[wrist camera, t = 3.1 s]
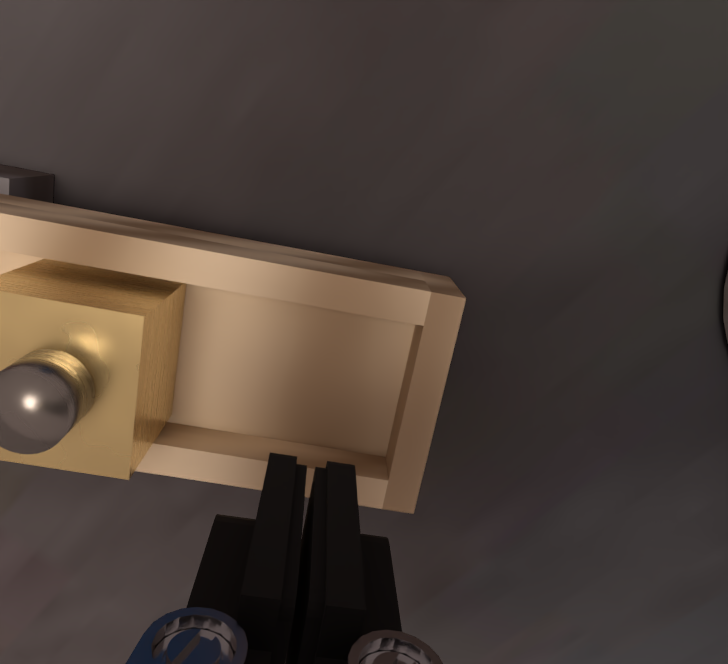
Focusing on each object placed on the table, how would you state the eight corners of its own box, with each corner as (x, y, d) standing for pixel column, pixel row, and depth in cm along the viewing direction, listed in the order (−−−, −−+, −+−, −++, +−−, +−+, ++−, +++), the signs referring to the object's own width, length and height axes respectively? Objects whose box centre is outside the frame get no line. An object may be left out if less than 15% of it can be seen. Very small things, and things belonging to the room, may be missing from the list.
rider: (186, 280, 18) (121, 334, 13) (172, 414, 20) (106, 513, 14) (49, 256, 18) (-74, 301, 13) (43, 394, 19) (-72, 486, 14)
